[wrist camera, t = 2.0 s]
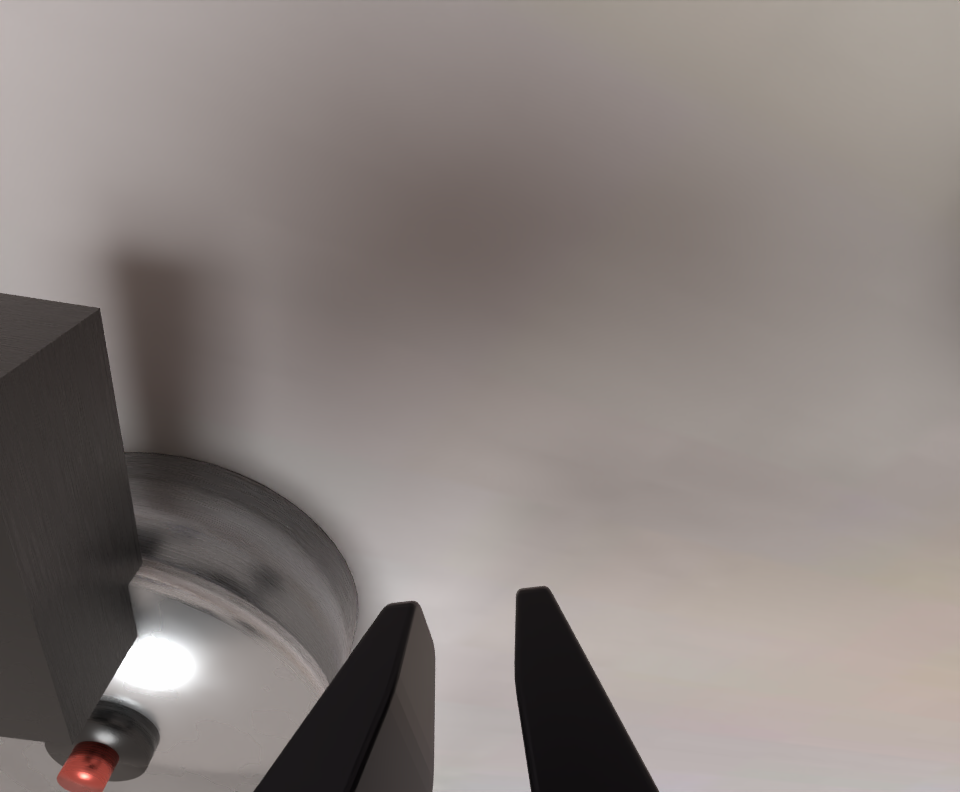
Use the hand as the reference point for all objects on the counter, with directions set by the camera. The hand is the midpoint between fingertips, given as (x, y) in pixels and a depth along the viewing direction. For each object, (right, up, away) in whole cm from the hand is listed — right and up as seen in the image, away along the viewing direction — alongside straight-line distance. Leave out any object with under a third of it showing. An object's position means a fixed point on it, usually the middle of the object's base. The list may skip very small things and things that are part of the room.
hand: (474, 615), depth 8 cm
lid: (-11, -4, +11) cm, 17 cm away
